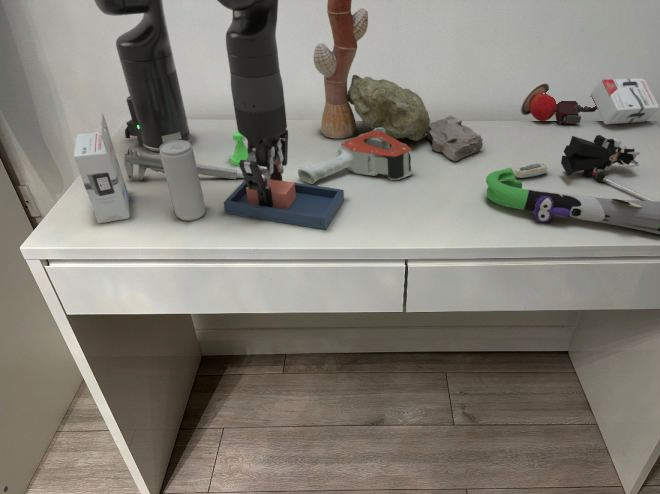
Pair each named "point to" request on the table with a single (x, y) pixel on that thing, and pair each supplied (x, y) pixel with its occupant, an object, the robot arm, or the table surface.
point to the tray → (306, 210)
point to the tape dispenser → (365, 158)
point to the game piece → (239, 149)
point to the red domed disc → (539, 103)
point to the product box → (102, 175)
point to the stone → (453, 138)
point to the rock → (389, 107)
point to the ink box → (624, 100)
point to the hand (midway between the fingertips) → (271, 199)
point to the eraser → (276, 194)
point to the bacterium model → (530, 170)
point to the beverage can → (182, 179)
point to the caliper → (156, 165)
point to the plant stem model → (339, 66)
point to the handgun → (570, 112)
